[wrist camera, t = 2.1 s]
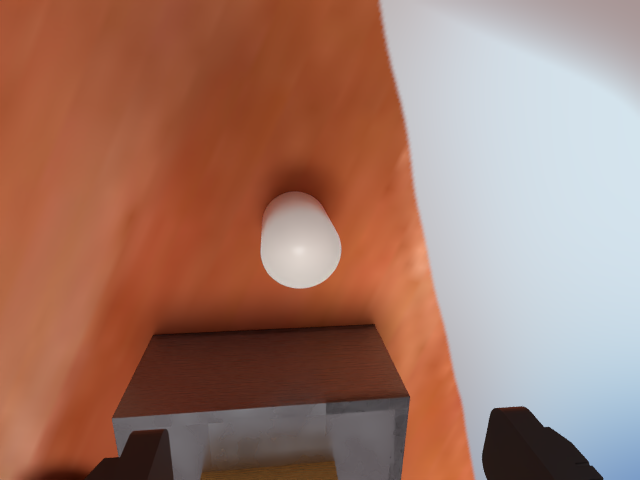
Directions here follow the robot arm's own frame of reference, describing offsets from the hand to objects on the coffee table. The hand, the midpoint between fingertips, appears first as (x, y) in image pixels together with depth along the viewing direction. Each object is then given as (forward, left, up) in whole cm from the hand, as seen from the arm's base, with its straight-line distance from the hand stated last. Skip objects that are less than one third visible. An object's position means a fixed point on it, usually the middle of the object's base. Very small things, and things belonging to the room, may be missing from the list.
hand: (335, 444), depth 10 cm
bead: (0, 0, -18) cm, 18 cm away
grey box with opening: (+17, -2, -18) cm, 25 cm away
